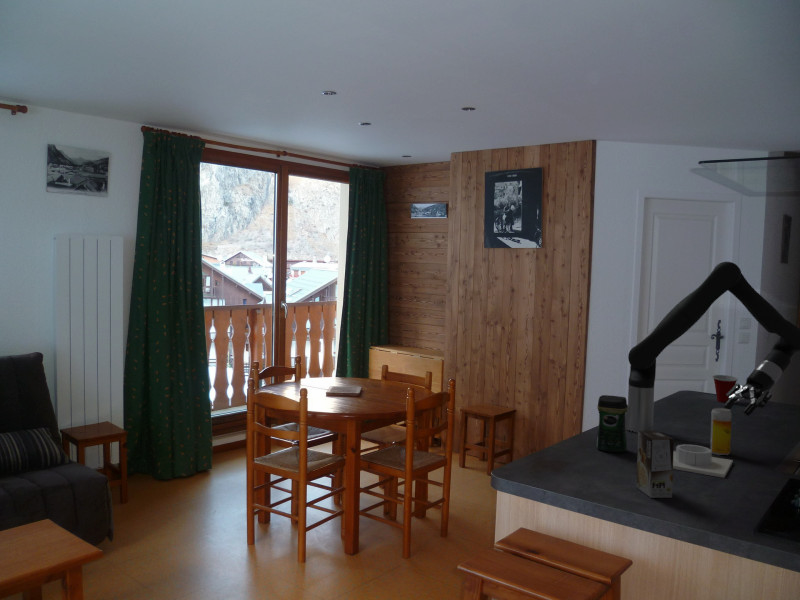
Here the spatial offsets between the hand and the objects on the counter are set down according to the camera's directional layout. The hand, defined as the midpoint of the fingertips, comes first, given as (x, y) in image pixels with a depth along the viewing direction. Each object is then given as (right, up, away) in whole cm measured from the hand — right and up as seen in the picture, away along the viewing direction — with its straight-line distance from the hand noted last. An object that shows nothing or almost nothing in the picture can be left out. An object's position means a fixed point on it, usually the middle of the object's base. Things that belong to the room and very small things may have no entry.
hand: (735, 411), depth 216 cm
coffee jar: (-42, -14, +2) cm, 44 cm away
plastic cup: (+41, -11, +88) cm, 98 cm away
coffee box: (-44, -15, -40) cm, 62 cm away
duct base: (-21, -14, -14) cm, 29 cm away
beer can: (-6, -14, -1) cm, 16 cm away
